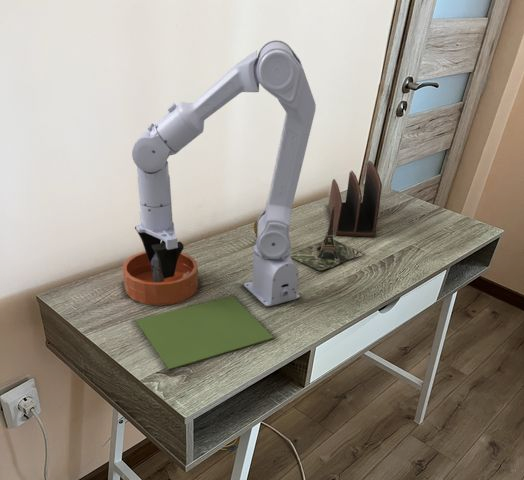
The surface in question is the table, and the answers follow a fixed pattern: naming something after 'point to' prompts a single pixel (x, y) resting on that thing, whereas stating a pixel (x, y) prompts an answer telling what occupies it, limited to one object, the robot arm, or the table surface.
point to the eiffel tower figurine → (326, 251)
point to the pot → (162, 292)
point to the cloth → (202, 331)
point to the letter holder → (357, 205)
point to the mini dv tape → (156, 269)
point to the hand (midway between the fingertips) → (160, 267)
